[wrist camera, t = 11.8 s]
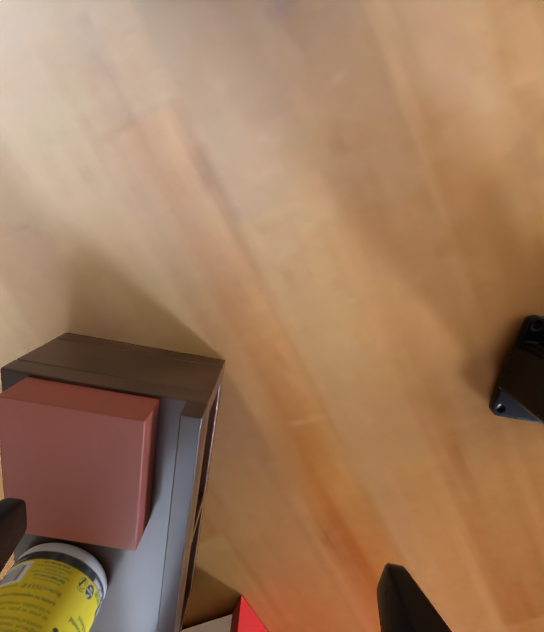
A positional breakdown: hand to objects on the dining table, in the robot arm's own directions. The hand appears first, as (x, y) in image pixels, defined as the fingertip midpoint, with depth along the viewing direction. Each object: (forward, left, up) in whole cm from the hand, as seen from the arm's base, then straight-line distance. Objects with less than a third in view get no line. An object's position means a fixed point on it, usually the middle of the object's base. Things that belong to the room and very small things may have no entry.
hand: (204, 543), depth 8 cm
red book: (+7, +5, -8) cm, 12 cm away
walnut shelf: (+6, +11, -13) cm, 18 cm away
